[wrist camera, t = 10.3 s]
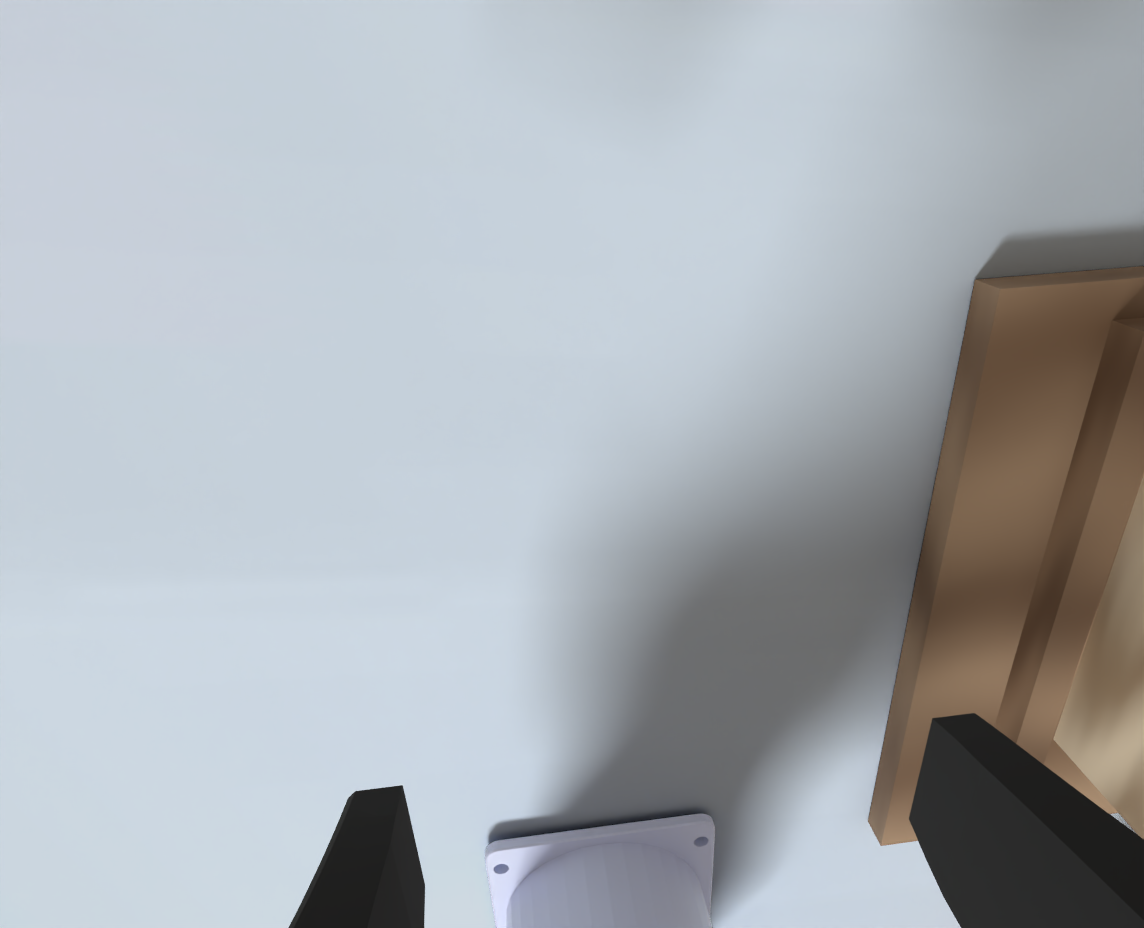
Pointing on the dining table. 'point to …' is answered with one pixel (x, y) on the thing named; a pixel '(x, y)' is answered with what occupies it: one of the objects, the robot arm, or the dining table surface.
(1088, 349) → the picture ledge
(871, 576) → the dining table surface
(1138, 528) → the beige long rectangular block
